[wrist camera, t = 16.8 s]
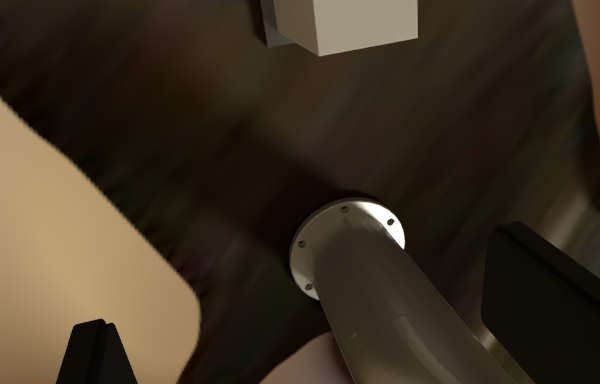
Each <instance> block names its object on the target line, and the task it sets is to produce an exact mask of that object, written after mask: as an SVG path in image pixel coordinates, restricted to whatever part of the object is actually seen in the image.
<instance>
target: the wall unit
mask: <svg viewBox="0 0 600 384" xmlns="http://www.w3.org/2000/svg"><path fill="white" fill-rule="evenodd" d="M258 3H259V9H260V15H261V21H262V27H263V34H264V40H265V46H267V47H268V48H269V47H274V46H280V45H285V44H291V43H297V44H299V45H301V46H302V47H304V48H306V49H307V50H309V51H311V52H313V53H314V54H316V55H318V56H323V55H329V54H334V53H339V52H345V51H350V50H355V49H361V48H366V47H371V46H377V45H382V44H387V43H393V42H398V41H403V40H409V39H414V38H418V25H417V0H258Z"/></svg>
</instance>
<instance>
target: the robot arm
mask: <svg viewBox="0 0 600 384" xmlns="http://www.w3.org/2000/svg"><path fill="white" fill-rule="evenodd" d="M404 244H405V238H404V231H403V228H402V226H401V223H400V221H399V220H398V219H397V217H396V216H395V214H394V213H393V212H392V211H391V210H390V209H389V208H388V207H386V206H385V205H383V204H382V203H380V202H378V201H375V200H373V199H368V198H363V197H349V198H344V199H339V200H336V201H333V202H331V203H328V204H326V205H324V206H322V207H321V208H319V209H317V210H316V211H315V212H313V213H312V214H311V215H310V216H309V217H307V218H306V220H305V221H304V222H303V223H302V224H301V225H300V227H299V228H298V230H297V232H296V233H295V235H294V237H293V240H292V242H291V245H290V251H289V266H290V269H291V272H292V275H293V277H294V280H295V282H296V283H297V285H298V286H299V287H300V289H301V290H302V291H304V292H305V293H306V294H307V295H308V296H310V297H312V298H314V299H316V300H319V301H320V303H321V305H322V307H323V310H324V312H325V314H326V317H327V319H328V321H329V324H330V326H331V328H332V331H333V333H334V335H335V338H336V340H337V342H338V345H339V347H340V349H341V351H342V354H343V356H344V358H345V361H346V363H347V365H348V368H349V370H350V372H351V375H352V377H353V379H354V382H355V384H518V383H517V382H516V381H515V380H514V379H513V378H512V377H511V376H510V375H509V374H508V373H507V372H506V371H505V370H504V369H503V368H502V367H501V366H500V365H499V363H498V362H497V361H496V360H495V359H494V358H493V357H492V356H491V354H490V353H489V352H488V351H487V350H486V349H485V348H484V346H483V345H482V344H481V343H480V342H479V340H478V339H477V338H476V337H475V336H474V334H473V333H472V332H471V331H470V330H469V328H468V327H467V326H466V325H465V324H464V322H463V321H462V320H461V319H460V318H459V316H458V315H457V314H456V313H455V311H454V310H453V309H452V308H451V306H450V305H449V304H448V303H447V302H446V300H445V299H444V298H443V297H442V295H441V294H440V293H439V292H438V291H437V289H436V288H435V287H434V286H433V285H432V283H431V282H430V281H429V280H428V278H427V277H426V276H425V275H424V274H423V272H422V271H421V270H420V269H419V267H418V266H417V265H416V264H415V263H414V261H413V260H412V259H411V258H410V257H409V255H408V254H407V253H406V252H405V250H404ZM481 318H482V321H483V323H484V325H485V326H486V327H487V328H488V330H489V331H490V332H491V333H492V334H493V335H494V336H495V338H496V339H497V340H498V341H499V342H500V343H501V344H502V346H503V347H504V348H505V349H506V350H507V351H508V352H509V354H510V355H511V356H512V357H513V358H514V359H515V360H516V362H517V363H518V364H519V365H520V366H521V367H522V368H523V370H524V371H525V372H526V373H527V374H528V375H529V377H530V378H531V379H532V380H533V381H534V382H535V383H536V384H600V278H598V277H597V276H595V275H594V274H593V273H591V272H590V271H588V270H587V269H586V268H584V267H583V266H581V265H580V264H579V263H577V262H576V261H575V260H573V259H572V258H570V257H569V256H568V255H566V254H565V253H563V252H562V251H561V250H559V249H558V248H556V247H555V246H554V245H552V244H551V243H550V242H548V241H547V240H545V239H544V238H543V237H541V236H540V235H538V234H537V233H536V232H534V231H533V230H531V229H530V228H529V227H527V226H526V225H524V224H523V223H521V222H519V221H514V222H510V223H506V224H502V225H497V226H495V227H494V229H493V232H492V233H490V234H489V236H488V243H487V253H486V263H485V272H484V282H483V292H482V302H481ZM56 384H138V383H137V381H136V378H135V376H134V373H133V370H132V368H131V365H130V362H129V360H128V357H127V355H126V352H125V350H124V347H123V344H122V342H121V339H120V337H119V334H118V332H117V329H116V327H115V325H114V324H113V323H109V324H106V323H105V321H104V320H103V319H98V320H93V321H89V322H84V323H80V324H76V325H75V326H74V327H73V329H72V332H71V335H70V339H69V342H68V345H67V349H66V352H65V355H64V359H63V362H62V365H61V368H60V372H59V375H58V378H57V381H56Z"/></svg>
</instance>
